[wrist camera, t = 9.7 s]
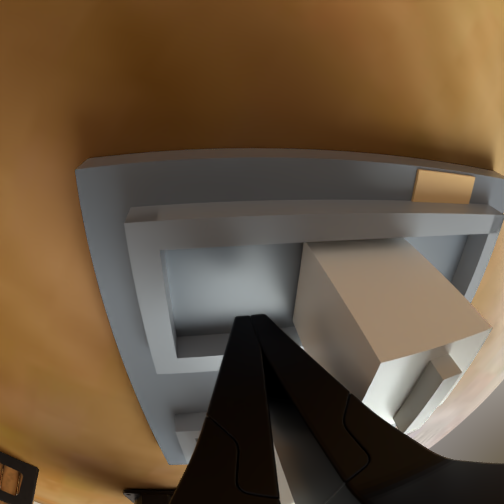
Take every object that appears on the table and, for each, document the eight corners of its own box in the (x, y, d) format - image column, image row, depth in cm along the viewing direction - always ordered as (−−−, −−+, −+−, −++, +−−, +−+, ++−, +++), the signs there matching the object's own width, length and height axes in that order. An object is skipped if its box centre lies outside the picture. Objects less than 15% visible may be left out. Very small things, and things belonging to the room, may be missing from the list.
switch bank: (390, 411, 20) (401, 433, 18) (168, 449, 17) (169, 478, 15) (493, 171, 11) (528, 189, 9) (88, 158, 8) (61, 181, 6)
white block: (378, 308, 12) (449, 419, 7) (292, 320, 11) (347, 459, 6) (400, 234, 10) (506, 343, 5) (303, 239, 9) (395, 387, 5)
